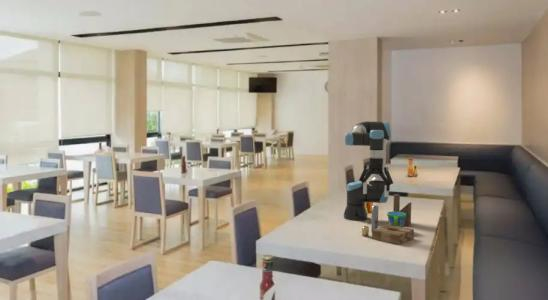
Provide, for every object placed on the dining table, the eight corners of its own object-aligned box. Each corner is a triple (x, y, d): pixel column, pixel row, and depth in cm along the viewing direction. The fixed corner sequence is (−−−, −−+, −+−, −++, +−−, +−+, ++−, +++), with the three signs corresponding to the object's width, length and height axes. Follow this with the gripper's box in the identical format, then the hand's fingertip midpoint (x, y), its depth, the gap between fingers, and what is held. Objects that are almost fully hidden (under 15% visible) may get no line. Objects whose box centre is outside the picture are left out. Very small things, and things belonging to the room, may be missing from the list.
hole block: (386, 233, 252) (387, 224, 251) (413, 238, 241) (413, 229, 241) (371, 238, 240) (372, 229, 240) (399, 244, 229) (399, 235, 229)
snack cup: (403, 235, 248) (404, 216, 248) (384, 232, 253) (384, 215, 252) (407, 228, 263) (408, 211, 262) (389, 226, 267) (389, 209, 266)
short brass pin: (364, 234, 249) (364, 225, 249) (369, 235, 246) (369, 226, 246) (360, 235, 246) (360, 226, 246) (366, 237, 244) (366, 227, 243)
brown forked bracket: (408, 226, 268) (409, 196, 267) (391, 223, 275) (392, 194, 274) (410, 225, 271) (411, 195, 269) (394, 222, 278) (395, 193, 276)
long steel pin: (373, 231, 256) (374, 205, 255) (379, 232, 254) (379, 206, 253) (370, 232, 254) (370, 206, 252) (375, 233, 251) (376, 207, 250)
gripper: (353, 156, 256) (352, 193, 258) (393, 159, 239) (392, 198, 241) (360, 155, 262) (359, 191, 263) (400, 158, 245) (399, 197, 246)
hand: (375, 195), depth 252 cm, fingers open, 13 cm apart
